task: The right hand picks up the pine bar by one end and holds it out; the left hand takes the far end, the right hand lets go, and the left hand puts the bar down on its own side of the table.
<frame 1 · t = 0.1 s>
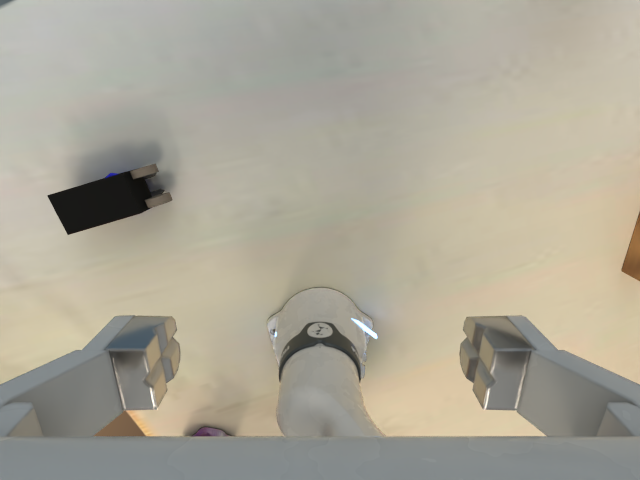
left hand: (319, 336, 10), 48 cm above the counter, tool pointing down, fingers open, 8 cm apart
figurine character: (128, 190, 58), on the counter
figurine: (213, 439, 76), on the counter
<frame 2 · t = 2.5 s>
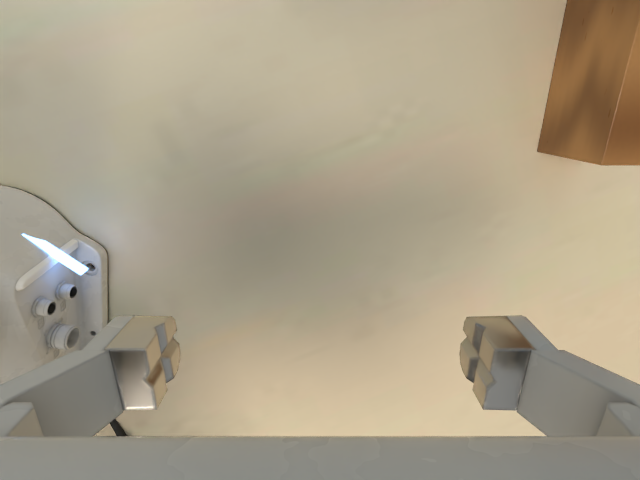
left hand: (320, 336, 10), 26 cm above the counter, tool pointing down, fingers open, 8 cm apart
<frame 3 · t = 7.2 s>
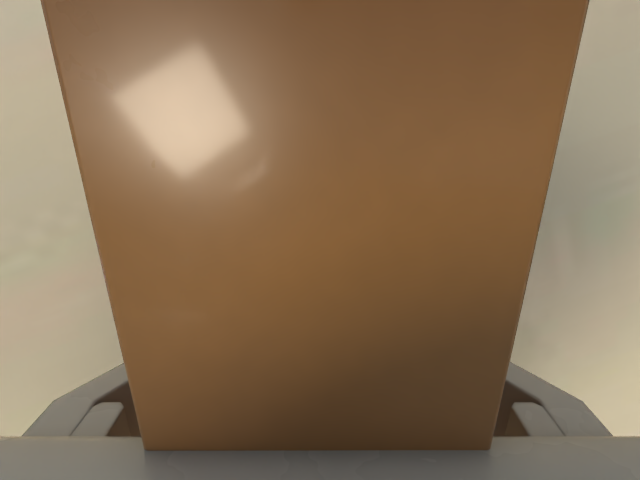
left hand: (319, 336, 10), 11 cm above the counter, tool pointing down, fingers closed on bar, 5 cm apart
bar: (317, 4, 10), point 8 cm above the counter, touching left hand, right hand
when the right hand's fingers open (12 cm above the counter, at t = 8.2 s): bar stays where it is, held by the left hand.
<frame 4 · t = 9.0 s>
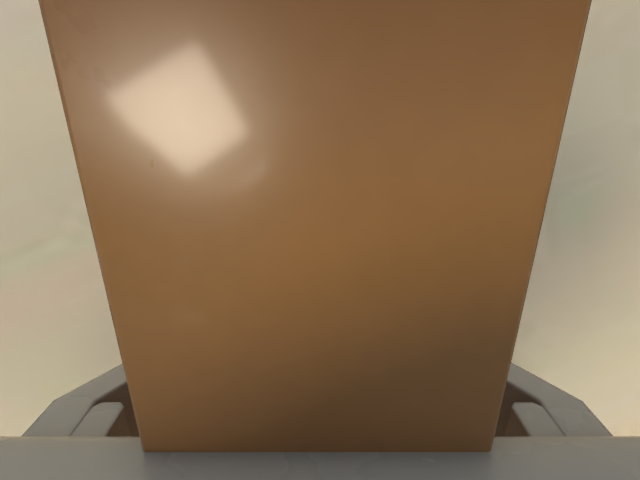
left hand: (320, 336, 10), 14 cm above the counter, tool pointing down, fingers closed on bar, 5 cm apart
bar: (318, 3, 10), point 11 cm above the counter, touching left hand
when the left hand's fingers open (4 cm above the counter, at t = 12.1 s): bar stays where it is, on the counter.
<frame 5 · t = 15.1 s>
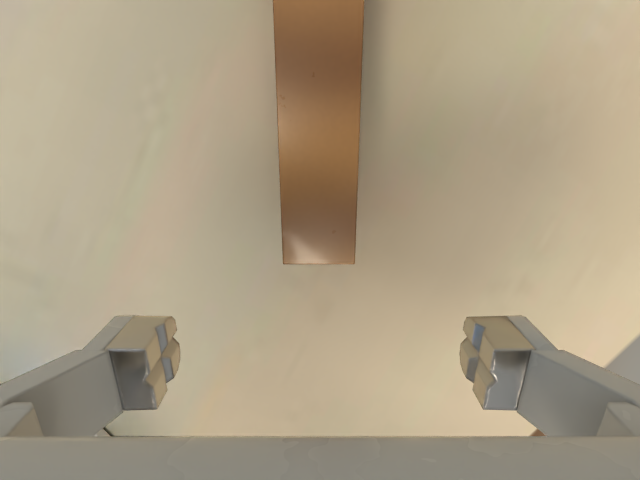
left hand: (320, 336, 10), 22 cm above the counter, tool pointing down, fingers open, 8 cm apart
bar: (318, 72, 28), on the counter
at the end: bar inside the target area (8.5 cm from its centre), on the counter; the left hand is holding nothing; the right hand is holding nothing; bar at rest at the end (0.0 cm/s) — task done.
